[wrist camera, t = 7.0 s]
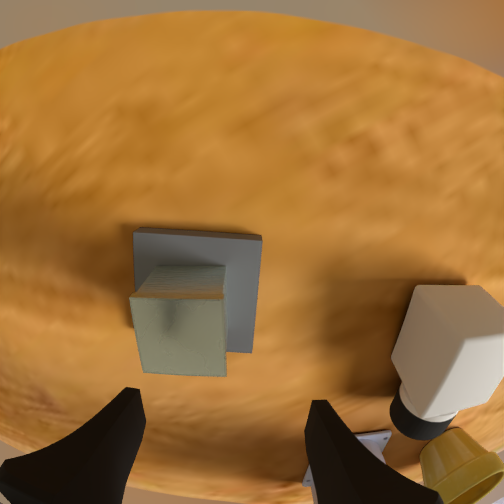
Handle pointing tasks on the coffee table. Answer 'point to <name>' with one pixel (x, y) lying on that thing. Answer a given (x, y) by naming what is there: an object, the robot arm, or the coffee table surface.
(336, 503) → the robot arm
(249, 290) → the block
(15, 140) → the coffee table surface
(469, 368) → the medicine bottle
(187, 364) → the grey green cube
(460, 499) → the plant pot
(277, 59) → the coffee table surface
